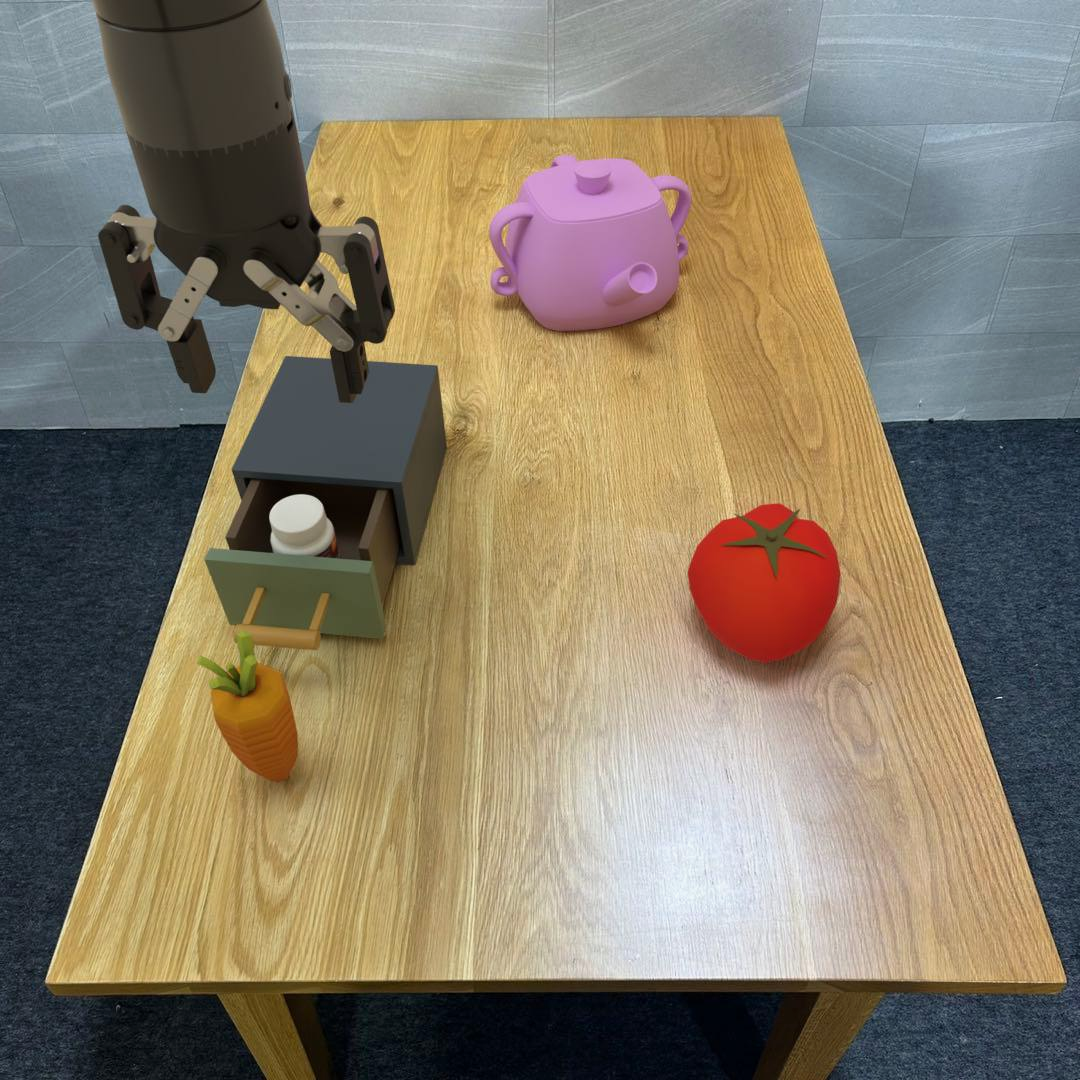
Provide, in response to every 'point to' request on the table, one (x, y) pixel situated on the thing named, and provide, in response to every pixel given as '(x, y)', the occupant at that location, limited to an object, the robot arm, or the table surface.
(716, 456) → the table surface
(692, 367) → the table surface
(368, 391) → the cabinet
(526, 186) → the teapot
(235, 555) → the drawer
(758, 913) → the table surface
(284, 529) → the pill bottle
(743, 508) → the table surface
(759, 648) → the tomato
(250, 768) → the carrot
